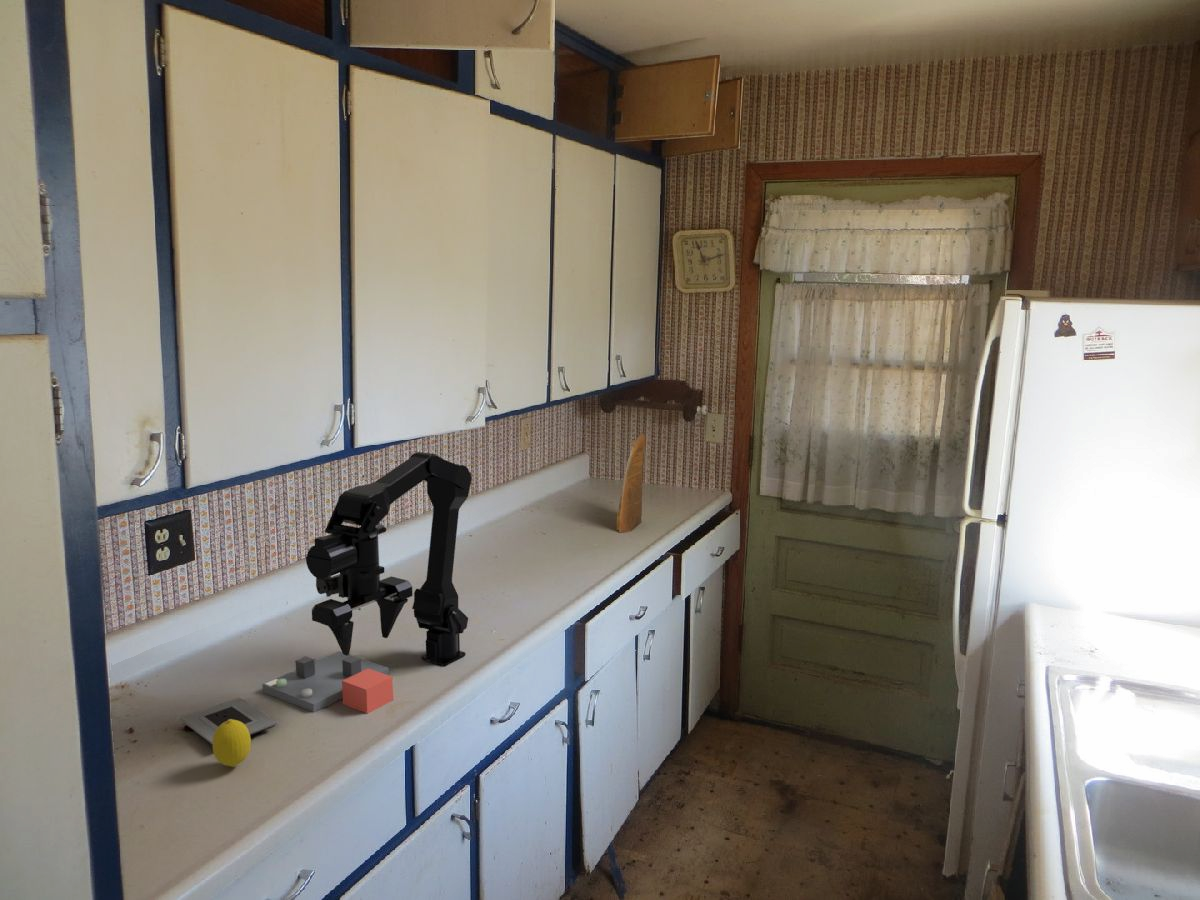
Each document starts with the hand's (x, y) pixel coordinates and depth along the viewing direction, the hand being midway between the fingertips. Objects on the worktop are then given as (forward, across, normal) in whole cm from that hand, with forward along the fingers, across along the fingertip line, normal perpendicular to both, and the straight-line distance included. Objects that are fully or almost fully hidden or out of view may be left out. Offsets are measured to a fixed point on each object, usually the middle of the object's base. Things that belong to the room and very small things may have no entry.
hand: (366, 646), depth 162 cm
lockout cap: (+11, 0, 0) cm, 11 cm away
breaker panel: (+11, -1, -12) cm, 16 cm away
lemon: (+11, +27, -1) cm, 29 cm away
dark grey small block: (+9, -4, -8) cm, 13 cm away
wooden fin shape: (+11, -126, -21) cm, 128 cm away
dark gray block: (+9, +1, -15) cm, 18 cm away
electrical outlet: (+11, +20, -12) cm, 26 cm away
